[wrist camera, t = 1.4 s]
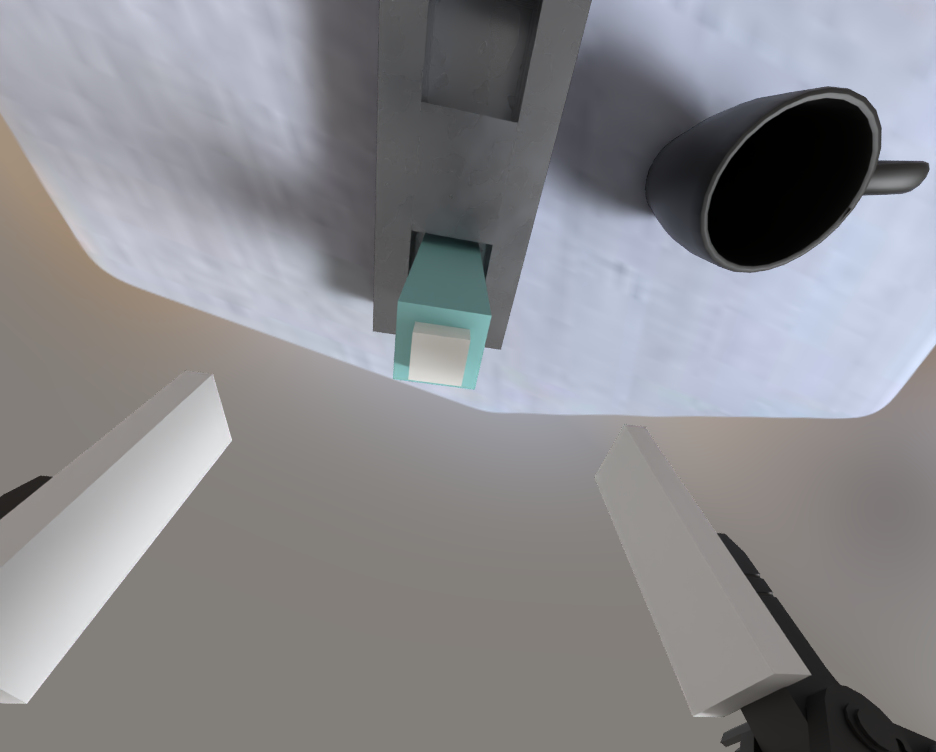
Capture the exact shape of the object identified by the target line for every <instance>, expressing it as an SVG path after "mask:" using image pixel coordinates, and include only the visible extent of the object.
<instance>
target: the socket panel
mask: <svg viewBox="0 0 936 752" xmlns="http://www.w3.org/2000/svg"><path fill="white" fill-rule="evenodd" d="M591 1H592V0H379V46H378V99H377V151H376V203H375V255H374V307H373V331H375V332H382V333H389V334H396V322H397V305H398V299H399V297H400V294H401V292H402V289H403V287H404V284H405V282H406V280H407V277H408V275H409V272H410V270H411V267H412V265H413V262H414V260H415V257H416V255H417V252H418V250H419V247H420V245H421V242H422V240H423V237H424V235H425V233H429V234H434V235H440V236H446V237H451V238H457V239H462V240H468V241H474V242H479V248H480V253H481V259H482V265H483V270H484V276H485V282H486V287H487V293H488V298H489V304H490V310H491V315H492V316H491V320H490V325H489V329H488V334H487V338H486V342H485V347H486V348H493V349H500V350H501V347H502V343H503V339H504V335H505V331H506V327H507V324H508V320H509V316H510V312H511V308H512V304H513V301H514V297H515V293H516V289H517V285H518V281H519V278H520V274H521V270H522V266H523V262H524V258H525V255H526V251H527V247H528V243H529V239H530V235H531V232H532V228H533V224H534V220H535V216H536V212H537V209H538V205H539V201H540V197H541V193H542V189H543V186H544V182H545V178H546V174H547V170H548V166H549V163H550V159H551V155H552V151H553V147H554V143H555V140H556V136H557V132H558V128H559V124H560V120H561V117H562V113H563V109H564V105H565V101H566V97H567V94H568V90H569V86H570V82H571V78H572V74H573V70H574V67H575V63H576V59H577V55H578V51H579V47H580V44H581V40H582V36H583V32H584V28H585V24H586V21H587V17H588V13H589V9H590V5H591Z"/></svg>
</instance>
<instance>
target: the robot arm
mask: <svg viewBox="0 0 936 752" xmlns="http://www.w3.org/2000/svg"><path fill="white" fill-rule="evenodd" d="M231 441H232V439H231V435H230V432H229V429H228V425H227V421H226V418H225V415H224V411H223V407H222V404H221V401H220V397H219V394H218V390H217V387H216V383H215V380H214V376H213V374H210V373H201V372H194V371H186V370H185V371H184V372H183V373H181V374H180V375H179V376H178V377H176V378H175V379H174V380H173V381H171V382H170V383H169V384H168V385H167V386H165V387H164V388H163V389H162V390H160V391H159V392H158V393H157V394H155V395H154V396H153V397H152V398H150V399H149V400H148V401H147V402H145V403H144V404H143V405H142V406H140V407H139V408H138V409H137V410H136V411H134V412H133V413H132V414H131V415H129V416H128V417H127V418H126V419H124V420H123V421H122V422H121V423H119V424H118V425H117V426H116V427H114V428H113V429H112V430H111V431H110V432H108V433H107V434H106V435H105V436H103V437H102V438H101V439H100V440H98V441H97V442H96V443H95V444H93V445H92V446H91V447H90V448H89V449H87V450H86V451H85V452H84V453H82V454H81V455H80V456H79V457H77V458H76V459H75V460H74V461H72V462H71V463H70V464H69V465H67V466H66V467H65V468H64V469H63V470H61V471H60V472H59V473H58V474H56V475H55V476H54V477H49V476H39V477H37V478H35V479H33V480H31V481H29V482H27V483H25V484H23V485H21V486H20V487H18V488H16V489H14V490H12V491H10V492H8V493H6V494H4V495H2V496H1V497H0V703H17V704H18V703H19V704H27V703H28V701H29V700H30V699H31V698H32V696H33V695H34V694H35V692H36V691H37V690H38V689H39V687H40V686H41V685H42V683H43V682H44V681H45V680H46V678H47V677H48V676H49V674H50V673H51V672H52V670H53V669H54V668H55V667H56V665H57V664H58V663H59V661H60V660H61V659H62V658H63V656H64V655H65V654H66V653H67V651H68V650H69V649H70V647H71V646H72V645H73V644H74V642H75V641H76V640H77V638H78V637H79V636H80V635H81V633H82V632H83V631H84V629H85V628H86V627H87V626H88V624H89V623H90V622H91V620H92V619H93V618H94V617H95V615H96V614H97V613H98V612H99V610H100V609H101V608H102V606H103V605H104V604H105V603H106V601H107V600H108V599H109V598H110V596H111V595H112V594H113V592H114V591H115V590H116V588H117V587H118V586H119V585H120V583H121V582H122V581H123V580H124V578H125V577H126V576H127V574H128V573H129V572H130V570H131V569H132V568H133V567H134V565H135V564H136V563H137V562H138V560H139V559H140V558H141V556H142V555H143V554H144V553H145V551H146V550H147V549H148V547H149V546H150V545H151V544H152V542H153V541H154V540H155V539H156V537H157V536H158V535H159V533H160V532H161V531H162V530H163V528H164V527H165V526H166V524H167V523H168V522H169V520H170V519H171V518H172V517H173V515H174V514H175V513H176V511H177V510H178V509H179V507H180V506H181V505H182V504H183V503H184V501H185V500H186V499H187V497H188V496H189V495H190V494H191V492H192V491H193V489H194V488H195V487H196V486H197V485H198V483H199V482H200V481H201V479H202V478H203V476H205V474H206V473H207V472H208V471H209V469H210V468H211V467H212V465H213V464H214V463H215V462H216V460H217V459H218V458H219V456H220V455H221V454H222V452H223V451H224V450H225V449H226V447H227V446H228V445H229V443H230V442H231ZM594 478H595V480H596V483H597V485H598V488H599V490H600V492H601V495H602V497H603V500H604V502H605V504H606V507H607V509H608V512H609V514H610V517H611V519H612V522H613V524H614V527H615V529H616V531H617V534H618V536H619V538H620V541H621V543H622V546H623V548H624V551H625V553H626V556H627V558H628V560H629V563H630V565H631V568H632V570H633V572H634V575H635V577H636V580H637V582H638V585H639V587H640V589H641V592H642V594H643V597H644V599H645V602H646V604H647V606H648V609H649V611H650V614H651V616H652V619H653V621H654V624H655V626H656V628H657V631H658V633H659V636H660V638H661V640H662V643H663V645H664V648H665V650H666V653H667V655H668V657H669V660H670V662H671V665H672V667H673V670H674V672H675V674H676V677H677V679H678V682H679V684H680V687H681V689H682V692H683V694H684V696H685V699H686V701H687V704H688V706H689V709H690V711H691V713H692V716H694V717H695V716H696V717H725V716H727V715H729V714H731V713H733V712H735V711H737V710H739V709H741V711H742V712H743V714H744V716H745V718H746V720H747V722H746V723H744V724H742V725H739V726H737V727H735V728H732V729H730V730H729V731H727V732H725V733H724V734H723V737H722V740H721V743H722V744H723V745H724V746H726V747H727V746H730V745H732V744H735V743H737V742H740V741H741V742H740V748H738V749H737V750H736V751H735V752H936V741H934V740H931V739H929V738H927V737H924V736H922V735H920V734H917V733H915V732H912V731H910V730H908V729H906V728H903V727H901V726H899V725H896V724H894V723H892V722H891V720H890V719H889V718H888V717H887V716H886V715H885V714H884V713H883V712H882V711H881V710H880V709H879V708H878V707H877V706H875V705H874V704H873V703H872V702H871V701H869V700H868V699H867V698H866V697H864V696H863V695H862V694H860V693H858V692H856V691H854V690H852V689H851V688H849V687H847V686H842V685H840V684H839V683H838V682H837V681H836V680H835V678H834V677H833V676H832V675H831V673H830V672H829V671H828V669H827V668H826V667H825V665H824V664H823V663H822V661H821V660H820V658H819V657H818V656H817V654H816V653H815V651H814V650H813V648H812V647H811V646H810V644H809V643H808V641H807V640H806V639H805V637H804V636H803V634H802V633H801V632H800V630H799V629H798V627H797V626H796V624H795V623H794V622H793V620H792V619H791V617H790V616H789V614H788V613H787V612H786V610H785V609H784V607H783V606H782V605H781V603H780V602H779V600H778V599H777V598H776V597H774V596H773V592H772V590H771V589H770V588H769V586H768V585H767V583H766V582H765V581H764V579H761V578H760V574H759V572H758V571H757V569H756V568H755V566H754V565H753V564H752V562H751V561H750V560H749V558H748V557H747V555H746V554H745V553H744V552H743V551H742V550H741V549H740V548H739V547H738V546H737V545H736V544H735V543H734V542H733V541H732V540H731V539H730V538H729V537H728V536H727V535H726V534H721V533H716V532H715V530H714V529H713V527H712V526H711V524H710V523H709V521H708V520H707V518H706V517H705V515H704V514H703V512H702V511H701V509H700V508H699V506H698V505H697V503H696V502H695V500H694V499H693V497H692V496H691V494H690V493H689V491H688V490H687V488H686V487H685V485H684V484H683V482H682V481H681V480H680V478H679V476H678V475H677V473H676V472H675V470H674V469H673V467H672V466H671V464H670V463H669V461H668V460H667V458H666V457H665V455H664V454H663V452H662V451H661V450H660V448H659V447H658V445H657V444H656V442H655V441H654V439H653V438H652V436H651V435H650V433H649V432H648V430H647V429H646V427H643V426H635V425H627V424H624V426H623V428H622V429H621V431H620V433H619V435H618V437H617V438H616V440H615V442H614V444H613V445H612V447H611V449H610V451H609V453H608V454H607V456H606V458H605V460H604V461H603V463H602V465H601V467H600V468H599V470H598V472H597V474H596V476H595V477H594Z"/></svg>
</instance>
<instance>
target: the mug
mask: <svg viewBox="0 0 936 752" xmlns="http://www.w3.org/2000/svg"><path fill="white" fill-rule="evenodd" d="M880 150H881V124H880V121H879V118H878V115H877V111H876V110H875V108H874V107H873V106H872V105H871V103H870V102H869V101H868V100H867V98H866V97H864V96H862V95H860V94H858V93H856V92H854V91H852V90H850V89H848V88H839V87H829V86H827V87H821V88H815V89H808V90H802V91H796V92H790V93H784V94H779V95H773V96H768V97H762V98H757V99H754V100H751V101H748V102H745V103H742V104H739V105H737V106H735V107H732V108H730V109H728V110H725V111H723V112H721V113H719V114H716V115H714V116H712V117H710V118H708V119H706V120H704V121H702V122H701V123H699V124H698V125H696V126H694V127H693V128H692V129H690V130H689V131H687V132H686V133H684V134H683V135H680V136H678V137H677V138H675V139H674V140H672V141H671V142H670V143H669V144H668V145H666V146H665V147H664V148H663V149H662V150H661V152H660V153H659V154H658V156H657V157H656V158H655V160H654V162H653V164H652V166H651V168H650V170H649V173H648V176H647V179H646V187H645V191H646V199H647V202H648V205H649V206H650V208H651V209H652V211H653V213H654V215H655V216H656V218H657V220H658V221H659V222H660V224H661V225H662V227H663V228H664V229H665V231H666V232H667V233H668V234H669V235H670V236H671V237H672V238H673V239H674V240H675V241H676V242H677V243H679V244H680V245H681V246H683V247H684V248H685V249H687V250H688V251H689V252H691V253H692V254H694V255H696V256H698V257H700V258H702V259H705V260H707V261H709V262H711V263H713V264H715V265H717V266H719V267H722V268H725V269H728V270H730V271H733V272H747V273H751V272H758V271H765V270H770V269H772V268H775V267H778V266H781V265H784V264H787V263H789V262H791V261H792V260H794V259H796V258H798V257H800V256H802V255H804V254H805V253H807V252H808V251H810V250H811V249H812V248H814V247H815V246H817V245H818V244H820V243H821V242H822V241H823V240H824V239H826V238H827V237H828V236H829V235H830V234H831V233H832V232H833V231H834V230H835V229H837V228H838V227H839V226H840V224H841V223H842V222H843V221H844V220H845V218H846V217H847V216H848V215H849V214H850V213H851V211H852V210H853V209H854V208H855V206H856V205H857V203H858V201H859V200H860V198H861V197H862V195H888V194H903V193H906V192H910V191H912V190H913V189H915V188H916V187H918V186H919V185H920V184H921V183H922V181H923V180H924V179H925V178H926V176H927V174H928V172H929V170H930V169H929V163H927V162H924V161H878V158H879V154H880Z"/></svg>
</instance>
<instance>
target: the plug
mask: <svg viewBox="0 0 936 752" xmlns="http://www.w3.org/2000/svg"><path fill="white" fill-rule="evenodd" d="M491 316H492V315H491V310H490V304H489V298H488V293H487V287H486V282H485V276H484V270H483V265H482V259H481V253H480V248H479V242H474V241H468V240H462V239H457V238H451V237H446V236H440V235H434V234H429V233H425V235H424V237H423V240H422V242H421V245H420V247H419V250H418V252H417V255H416V257H415V260H414V262H413V265H412V267H411V270H410V272H409V275H408V277H407V280H406V282H405V284H404V287H403V289H402V292H401V294H400V297H399V299H398V305H397V322H396V338H395V354H394V371H393V379H396V380H404V381H412V382H419V383H427V384H435V385H442V386H450V387H458V388H466V389H473V390H475V386H476V382H477V377H478V373H479V369H480V364H481V360H482V355H483V351H484V347H485V342H486V338H487V334H488V329H489V325H490V320H491Z"/></svg>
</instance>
